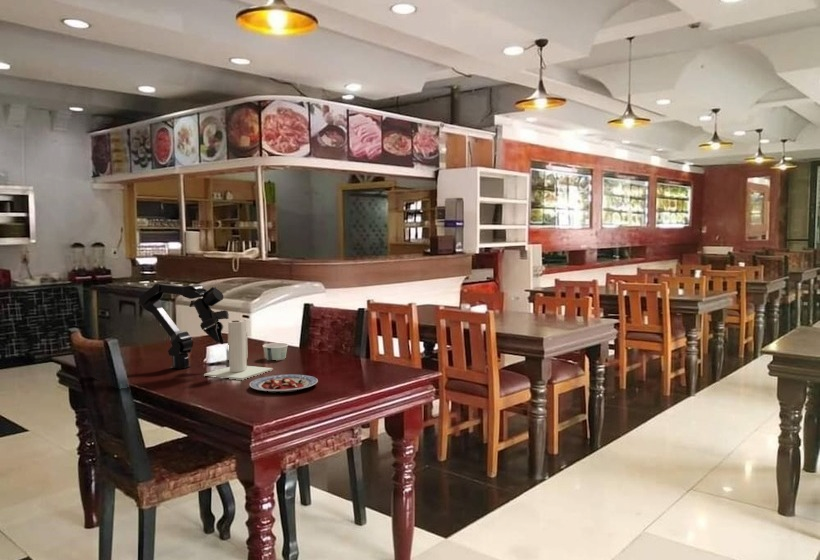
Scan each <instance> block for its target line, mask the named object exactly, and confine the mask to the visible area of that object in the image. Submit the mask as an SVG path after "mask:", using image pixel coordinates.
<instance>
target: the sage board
mask: <svg viewBox="0 0 820 560" xmlns="http://www.w3.org/2000/svg"><path fill="white" fill-rule="evenodd" d="M272 370H273V371H274V368H273V367H264V366H263V367H262V366H255V365H253V366H252V365H247V369H245V370H244V371H241V372H230V366H227V367H223V368H220V369H217V370H213V371H209V372H206V373H204V374H203V377H205V376H216V377H223V378H229V379H228V380H232V379H236V380H235V381H241V380H242V381H245V380H244V379H246V380H248V379H247V378H249V379H251V378H250V377H252V378H254V377H253V376H255V377H257V375H258V376H261V375H264V374H266V373H265V372H267V373H269V372H268V371H270V372H271V371H272ZM273 371H272V372H273ZM263 373H264V374H263ZM260 374H261V375H260ZM223 378H222V379H223Z"/></svg>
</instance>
